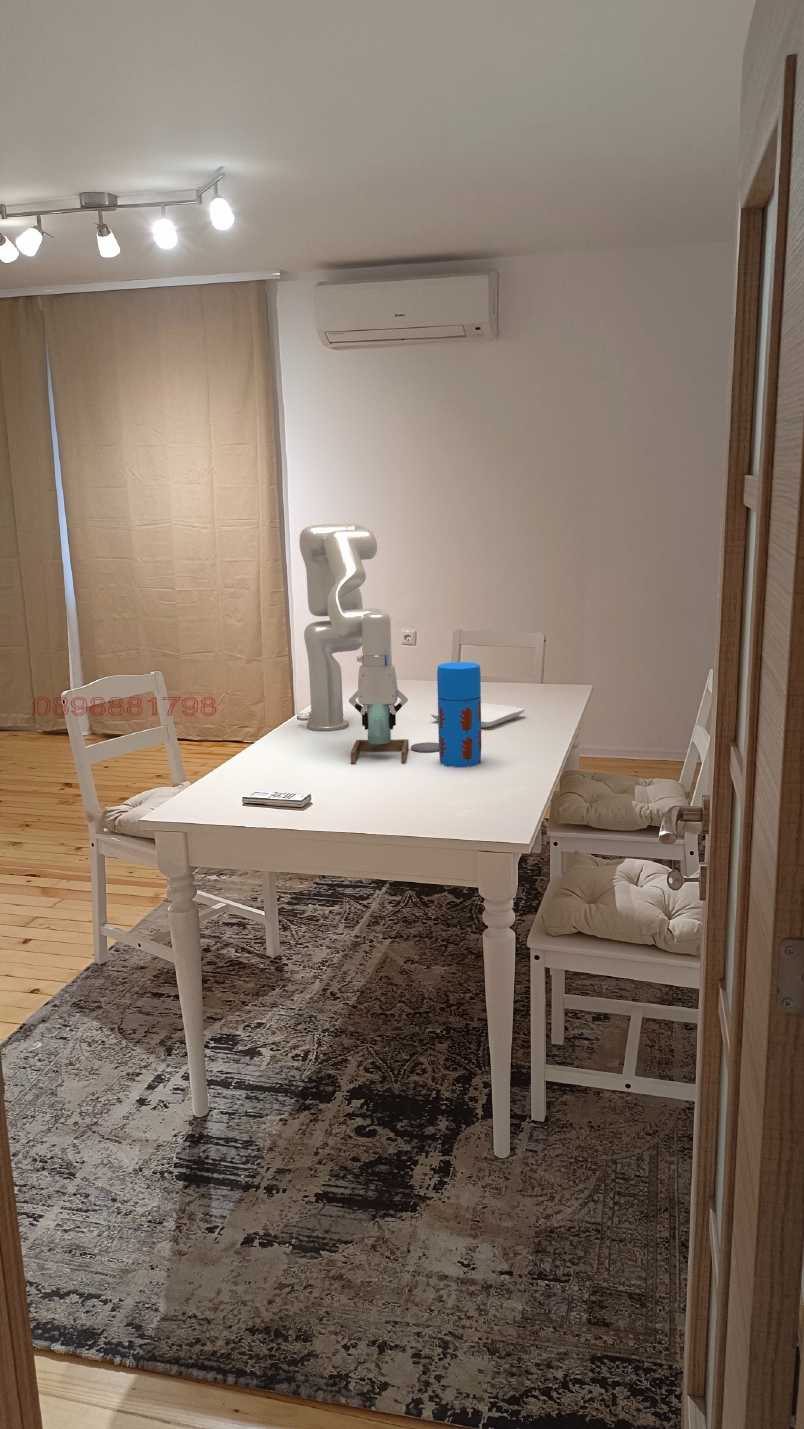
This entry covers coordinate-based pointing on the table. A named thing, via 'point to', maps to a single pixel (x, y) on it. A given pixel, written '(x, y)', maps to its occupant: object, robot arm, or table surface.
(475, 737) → the thermos
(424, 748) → the coaster
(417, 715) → the table surface
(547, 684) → the table surface
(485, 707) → the salad plate
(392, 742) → the holder
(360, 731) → the table surface
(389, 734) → the teal mug
